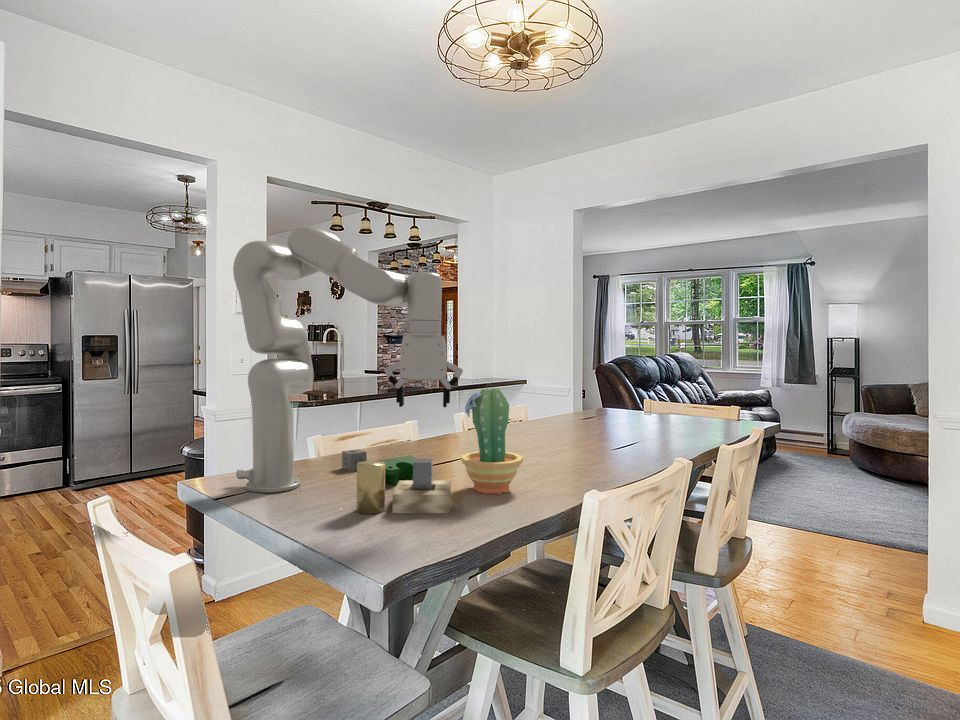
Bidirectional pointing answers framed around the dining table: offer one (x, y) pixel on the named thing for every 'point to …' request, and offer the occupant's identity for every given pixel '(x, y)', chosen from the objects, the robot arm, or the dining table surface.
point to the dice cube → (353, 459)
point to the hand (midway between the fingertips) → (423, 406)
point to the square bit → (422, 474)
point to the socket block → (422, 498)
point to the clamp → (398, 468)
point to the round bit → (370, 487)
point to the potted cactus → (490, 443)
